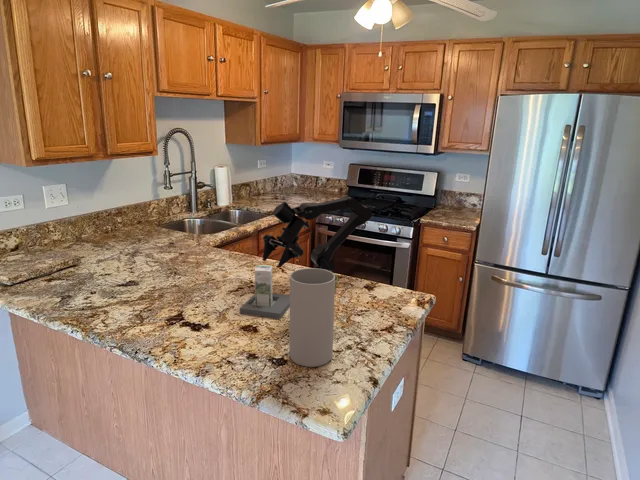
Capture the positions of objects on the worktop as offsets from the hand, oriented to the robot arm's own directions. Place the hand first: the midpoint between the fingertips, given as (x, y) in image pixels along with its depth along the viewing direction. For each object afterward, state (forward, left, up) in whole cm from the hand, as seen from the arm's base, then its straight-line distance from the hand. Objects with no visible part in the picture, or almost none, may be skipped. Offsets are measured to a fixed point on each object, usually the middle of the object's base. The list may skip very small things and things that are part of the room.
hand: (271, 263), depth 164 cm
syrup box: (-1, +11, -12) cm, 17 cm away
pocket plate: (-3, +12, -12) cm, 17 cm away
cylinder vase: (-27, +39, -13) cm, 50 cm away
